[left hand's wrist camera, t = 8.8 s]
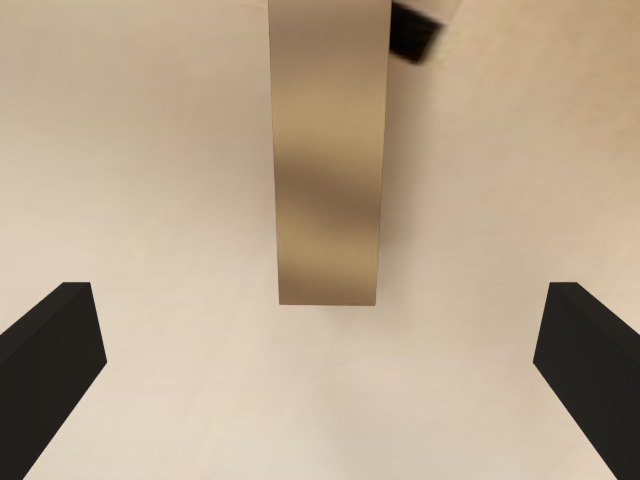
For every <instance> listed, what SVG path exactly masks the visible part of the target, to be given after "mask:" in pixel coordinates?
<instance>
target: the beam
mask: <svg viewBox="0 0 640 480" xmlns="http://www.w3.org/2000/svg"><path fill="white" fill-rule="evenodd" d="M391 2H392V0H268V12H269V39H270V67H271V94H272V121H273V149H274V176H275V203H276V231H277V258H278V286H279V304H280V305H348V306H375V302H376V284H377V265H378V246H379V227H380V208H381V190H382V171H383V152H384V133H385V114H386V96H387V77H388V58H389V39H390V20H391Z"/></svg>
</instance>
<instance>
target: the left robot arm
mask: <svg viewBox="0 0 640 480" xmlns="http://www.w3.org/2000/svg"><path fill="white" fill-rule="evenodd" d="M106 363H107V359H106V354H105V350H104V345H103V340H102V336H101V331H100V326H99V322H98V317H97V312H96V308H95V303H94V298H93V294H92V289H91V284H90V282H63V283H62V284H61V285H59V286H58V287H57V288H56V289H55V290H53V291H52V292H51V293H50V294H49V295H47V296H46V297H45V298H44V299H43V300H41V301H40V302H39V303H38V304H37V305H36V306H34V307H33V308H32V309H31V310H30V311H28V312H27V313H26V314H25V315H24V316H22V317H21V318H20V319H19V320H18V321H16V322H15V323H14V324H13V325H12V326H10V327H9V328H8V329H7V330H6V331H4V332H3V333H2V334H1V335H0V480H23V478H24V477H25V476H26V474H27V473H28V471H29V470H30V469H31V467H32V466H33V465H34V463H35V462H36V460H37V459H38V458H39V456H40V455H41V453H42V452H43V451H44V449H45V448H46V447H47V445H48V444H49V442H50V441H51V440H52V438H53V437H54V435H55V434H56V433H57V431H58V430H59V428H60V427H61V426H62V424H63V423H64V422H65V420H66V419H67V417H68V416H69V415H70V413H71V412H72V410H73V409H74V408H75V406H76V405H77V404H78V402H79V401H80V399H81V398H82V397H83V395H84V394H85V392H86V391H87V390H88V388H89V387H90V386H91V384H92V383H93V381H94V380H95V379H96V377H97V376H98V374H99V373H100V372H101V370H102V369H103V367H104V366H105V365H106ZM533 363H534V365H535V366H536V367H537V369H538V370H539V372H540V373H541V374H542V376H543V377H544V379H545V380H546V381H547V383H548V384H549V386H550V387H551V388H552V390H553V391H554V392H555V394H556V395H557V397H558V398H559V399H560V401H561V402H562V404H563V405H564V406H565V408H566V409H567V410H568V412H569V413H570V415H571V416H572V417H573V419H574V420H575V422H576V423H577V424H578V426H579V427H580V428H581V430H582V431H583V433H584V434H585V435H586V437H587V438H588V440H589V441H590V442H591V444H592V445H593V447H594V448H595V449H596V451H597V452H598V453H599V455H600V456H601V458H602V459H603V460H604V462H605V463H606V465H607V466H608V467H609V469H610V470H611V471H612V473H613V474H614V476H615V477H616V478H617V480H640V335H639V334H638V333H637V332H636V331H634V330H633V329H632V328H631V327H630V326H628V325H627V324H626V323H625V322H624V321H622V320H621V319H620V318H619V317H618V316H616V315H615V314H614V313H613V312H612V311H610V310H609V309H608V308H607V307H606V306H604V305H603V304H602V303H601V302H600V301H599V300H597V299H596V298H595V297H594V296H593V295H591V294H590V293H589V292H588V291H587V290H585V289H584V288H583V287H582V286H581V285H579V284H578V283H577V282H550V284H549V289H548V294H547V298H546V303H545V308H544V312H543V317H542V322H541V326H540V331H539V336H538V340H537V345H536V350H535V354H534V359H533Z"/></svg>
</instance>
